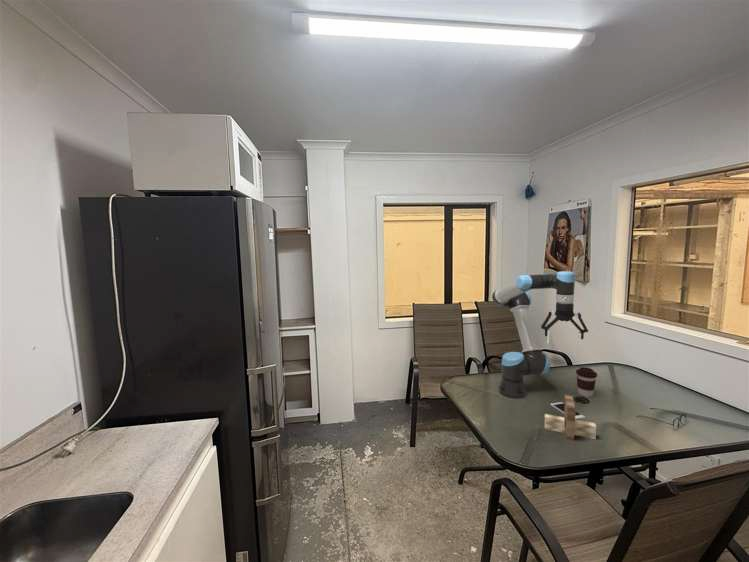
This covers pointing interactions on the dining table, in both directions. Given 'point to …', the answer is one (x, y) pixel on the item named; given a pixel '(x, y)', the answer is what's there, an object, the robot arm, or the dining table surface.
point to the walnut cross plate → (569, 417)
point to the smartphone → (561, 407)
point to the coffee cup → (586, 381)
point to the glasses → (670, 412)
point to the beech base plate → (580, 426)
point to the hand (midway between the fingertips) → (563, 343)
